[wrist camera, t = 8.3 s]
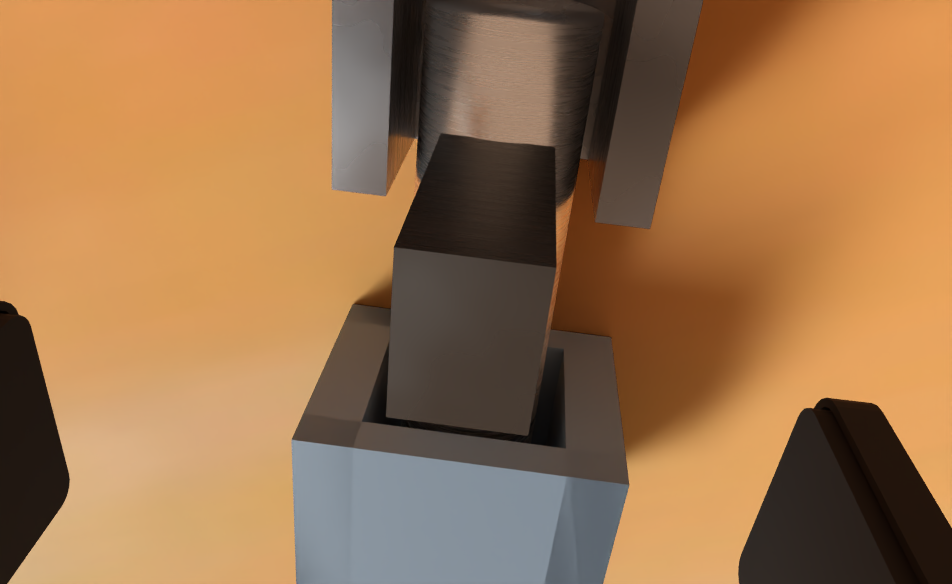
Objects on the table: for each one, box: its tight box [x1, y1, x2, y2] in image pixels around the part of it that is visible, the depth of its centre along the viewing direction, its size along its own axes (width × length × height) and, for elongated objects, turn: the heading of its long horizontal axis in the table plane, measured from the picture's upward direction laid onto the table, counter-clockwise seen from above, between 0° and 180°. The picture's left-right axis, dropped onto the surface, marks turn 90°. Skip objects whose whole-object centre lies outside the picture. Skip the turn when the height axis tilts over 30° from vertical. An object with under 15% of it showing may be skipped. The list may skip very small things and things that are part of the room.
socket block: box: [292, 304, 629, 584], centre depth 23 cm, size 6×8×6 cm
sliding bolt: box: [386, 0, 605, 444], centre depth 17 cm, size 14×4×9 cm, turn 175°
